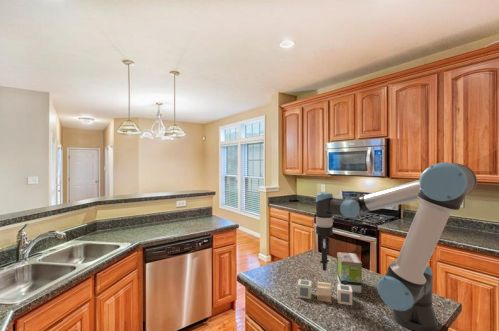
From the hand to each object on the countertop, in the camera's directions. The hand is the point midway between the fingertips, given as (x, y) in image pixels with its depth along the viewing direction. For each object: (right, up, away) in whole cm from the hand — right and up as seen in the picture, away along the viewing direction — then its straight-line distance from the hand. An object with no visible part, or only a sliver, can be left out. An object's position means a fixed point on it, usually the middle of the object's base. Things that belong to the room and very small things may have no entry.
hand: (324, 276), depth 118 cm
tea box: (+16, -11, +13) cm, 23 cm away
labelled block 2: (+8, -10, -3) cm, 13 cm away
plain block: (0, -10, 0) cm, 10 cm away
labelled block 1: (-9, -10, +3) cm, 14 cm away
